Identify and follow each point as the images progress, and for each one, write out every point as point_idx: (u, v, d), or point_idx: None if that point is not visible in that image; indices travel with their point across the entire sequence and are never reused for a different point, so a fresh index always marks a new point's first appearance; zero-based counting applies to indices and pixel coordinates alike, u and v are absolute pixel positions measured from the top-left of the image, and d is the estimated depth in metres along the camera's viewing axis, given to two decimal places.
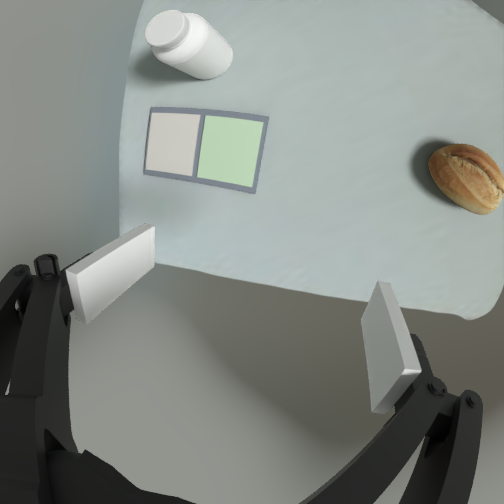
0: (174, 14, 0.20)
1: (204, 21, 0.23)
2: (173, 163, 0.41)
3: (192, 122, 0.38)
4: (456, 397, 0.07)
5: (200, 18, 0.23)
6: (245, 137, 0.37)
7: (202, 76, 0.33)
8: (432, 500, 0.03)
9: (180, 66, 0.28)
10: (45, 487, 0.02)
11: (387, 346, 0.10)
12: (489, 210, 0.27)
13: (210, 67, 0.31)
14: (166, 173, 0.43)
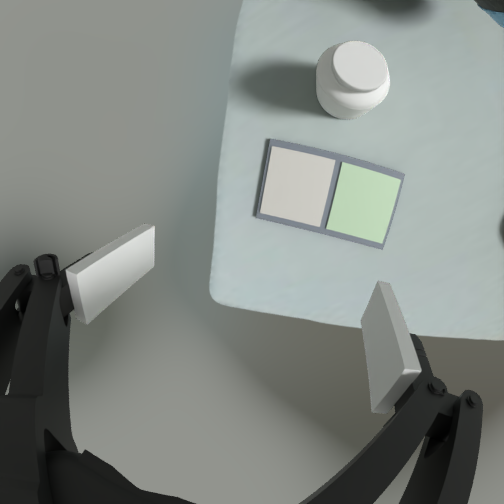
0: (373, 52, 0.17)
1: None
2: (299, 210, 0.39)
3: (326, 167, 0.35)
4: (456, 397, 0.07)
5: None
6: (382, 193, 0.35)
7: (346, 118, 0.31)
8: (432, 500, 0.03)
9: (349, 110, 0.25)
10: (45, 486, 0.02)
11: (387, 346, 0.10)
12: None
13: (364, 113, 0.28)
14: (287, 220, 0.40)
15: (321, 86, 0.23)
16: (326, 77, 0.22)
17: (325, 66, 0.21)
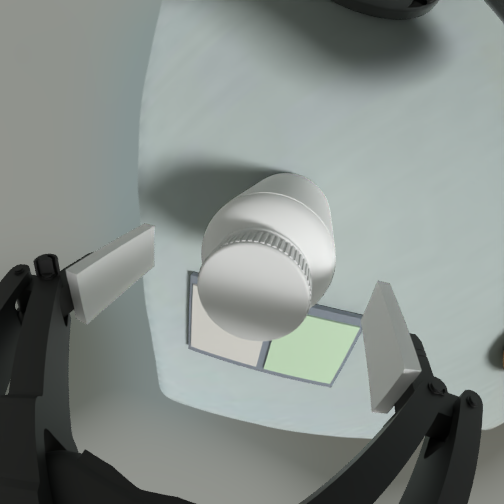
0: (281, 270, 0.11)
1: (330, 241, 0.14)
2: (231, 350, 0.33)
3: None
4: (456, 397, 0.07)
5: (324, 236, 0.14)
6: (333, 341, 0.29)
7: None
8: (432, 500, 0.03)
9: None
10: (45, 487, 0.02)
11: (387, 346, 0.10)
12: None
13: None
14: (221, 356, 0.34)
15: None
16: None
17: None
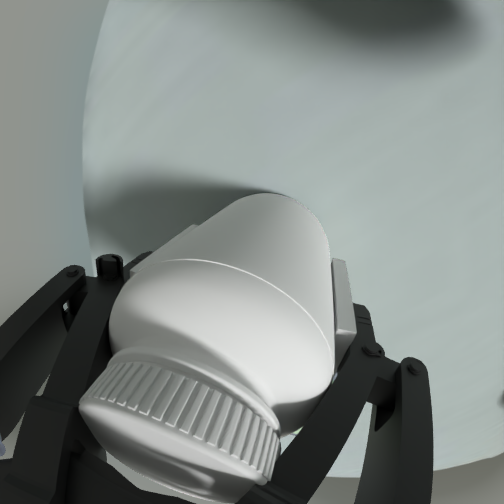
0: (206, 464, 0.04)
1: (326, 353, 0.07)
2: None
3: None
4: (396, 366, 0.08)
5: (314, 351, 0.06)
6: None
7: None
8: (391, 475, 0.04)
9: None
10: (45, 486, 0.02)
11: None
12: None
13: None
14: None
15: None
16: None
17: None
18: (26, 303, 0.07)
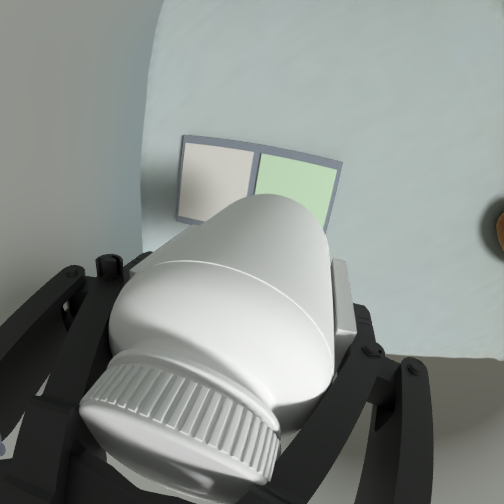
0: (206, 466, 0.04)
1: (326, 355, 0.07)
2: (217, 211, 0.35)
3: (243, 161, 0.31)
4: (396, 366, 0.08)
5: (314, 353, 0.06)
6: (314, 187, 0.31)
7: None
8: (391, 475, 0.04)
9: None
10: (45, 486, 0.02)
11: None
12: None
13: None
14: None
15: None
16: None
17: None
18: (26, 303, 0.07)
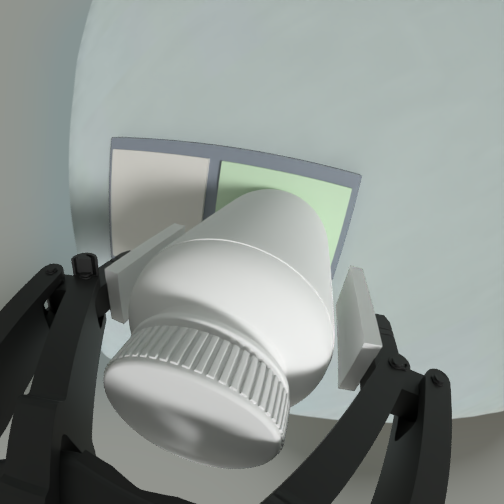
0: (226, 413, 0.05)
1: (327, 322, 0.08)
2: None
3: (194, 174, 0.19)
4: (420, 377, 0.08)
5: (317, 318, 0.08)
6: None
7: None
8: (408, 484, 0.04)
9: None
10: (45, 486, 0.02)
11: (353, 324, 0.11)
12: None
13: None
14: None
15: None
16: None
17: None
18: (10, 303, 0.07)
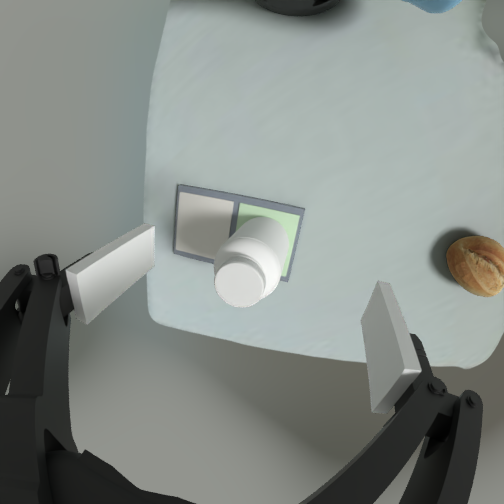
0: (250, 274, 0.27)
1: (277, 260, 0.30)
2: (206, 247, 0.44)
3: (226, 208, 0.41)
4: (456, 397, 0.07)
5: (273, 258, 0.30)
6: None
7: None
8: (432, 500, 0.03)
9: None
10: (45, 487, 0.02)
11: (387, 346, 0.10)
12: (493, 295, 0.30)
13: None
14: (198, 256, 0.45)
15: None
16: None
17: (217, 269, 0.31)
18: None
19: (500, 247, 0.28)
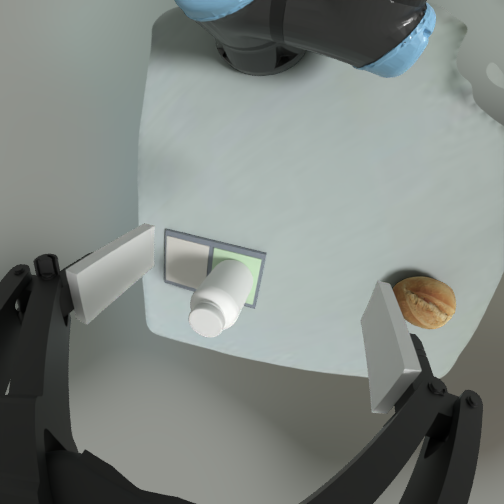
0: (212, 316, 0.37)
1: (234, 304, 0.40)
2: (189, 279, 0.54)
3: (203, 251, 0.51)
4: (456, 397, 0.07)
5: (231, 303, 0.40)
6: None
7: None
8: (432, 500, 0.03)
9: None
10: (45, 486, 0.02)
11: (387, 346, 0.10)
12: None
13: None
14: (184, 285, 0.55)
15: None
16: None
17: (192, 308, 0.41)
18: None
19: (443, 289, 0.38)
